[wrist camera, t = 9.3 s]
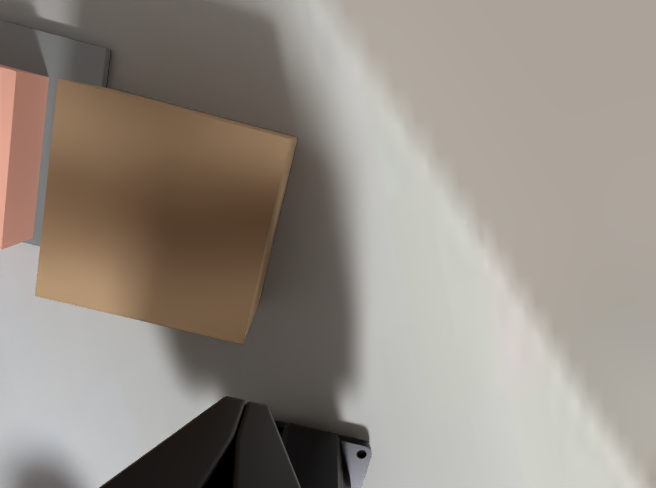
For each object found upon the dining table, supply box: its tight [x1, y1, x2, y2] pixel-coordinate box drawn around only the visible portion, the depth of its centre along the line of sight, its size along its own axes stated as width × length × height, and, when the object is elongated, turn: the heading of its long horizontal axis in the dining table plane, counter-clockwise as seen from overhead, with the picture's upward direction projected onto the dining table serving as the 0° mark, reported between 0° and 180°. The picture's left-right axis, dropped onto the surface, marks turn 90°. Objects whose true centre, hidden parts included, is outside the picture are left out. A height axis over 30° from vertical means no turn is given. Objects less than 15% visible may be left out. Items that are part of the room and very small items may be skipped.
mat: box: [0, 20, 111, 246], centre depth 19 cm, size 9×8×1 cm
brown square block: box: [35, 79, 298, 344], centre depth 18 cm, size 8×8×4 cm
